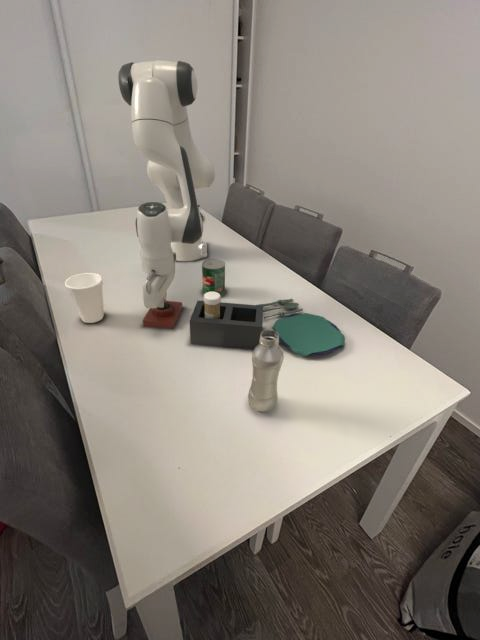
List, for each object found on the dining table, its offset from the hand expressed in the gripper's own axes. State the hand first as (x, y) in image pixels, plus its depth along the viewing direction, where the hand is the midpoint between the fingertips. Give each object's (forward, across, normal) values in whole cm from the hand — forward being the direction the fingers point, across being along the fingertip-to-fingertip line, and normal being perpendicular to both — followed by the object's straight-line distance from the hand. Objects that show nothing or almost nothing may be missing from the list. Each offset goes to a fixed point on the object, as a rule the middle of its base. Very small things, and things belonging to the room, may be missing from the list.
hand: (162, 305), depth 103 cm
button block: (+4, 0, 0) cm, 4 cm away
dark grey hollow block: (+4, -7, -21) cm, 23 cm away
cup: (+5, -4, +21) cm, 22 cm away
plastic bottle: (+5, -32, -32) cm, 45 cm away
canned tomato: (+4, +18, -13) cm, 23 cm away
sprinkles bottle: (+5, -7, -17) cm, 19 cm away
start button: (+2, 0, 0) cm, 2 cm away
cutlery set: (+5, 0, -42) cm, 42 cm away
